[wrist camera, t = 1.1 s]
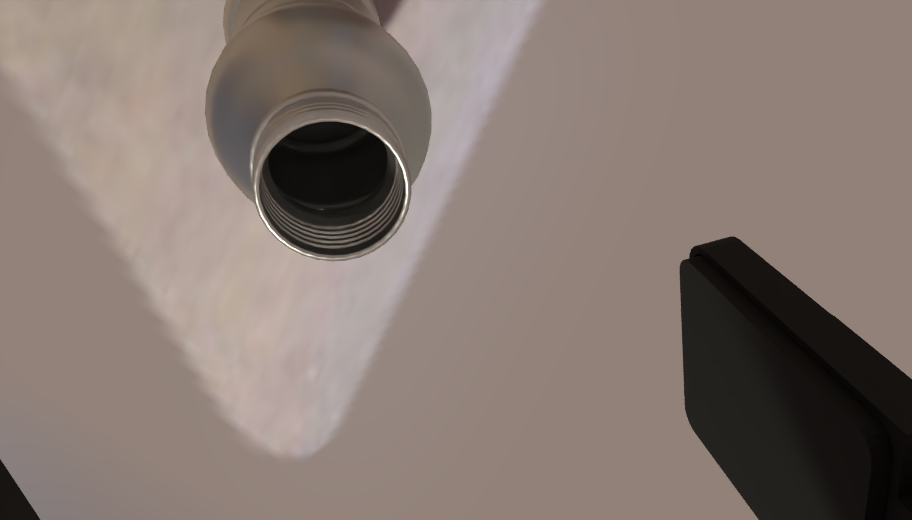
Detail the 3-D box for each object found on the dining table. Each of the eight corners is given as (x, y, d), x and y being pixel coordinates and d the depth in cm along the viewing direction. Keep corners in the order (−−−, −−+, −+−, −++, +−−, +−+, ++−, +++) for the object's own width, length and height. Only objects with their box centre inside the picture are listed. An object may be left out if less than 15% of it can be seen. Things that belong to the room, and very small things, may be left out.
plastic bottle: (303, -92, 32) (339, -26, 15) (403, 32, 36) (526, 202, 18) (193, 8, 33) (110, 177, 16) (301, 120, 37) (327, 360, 19)
